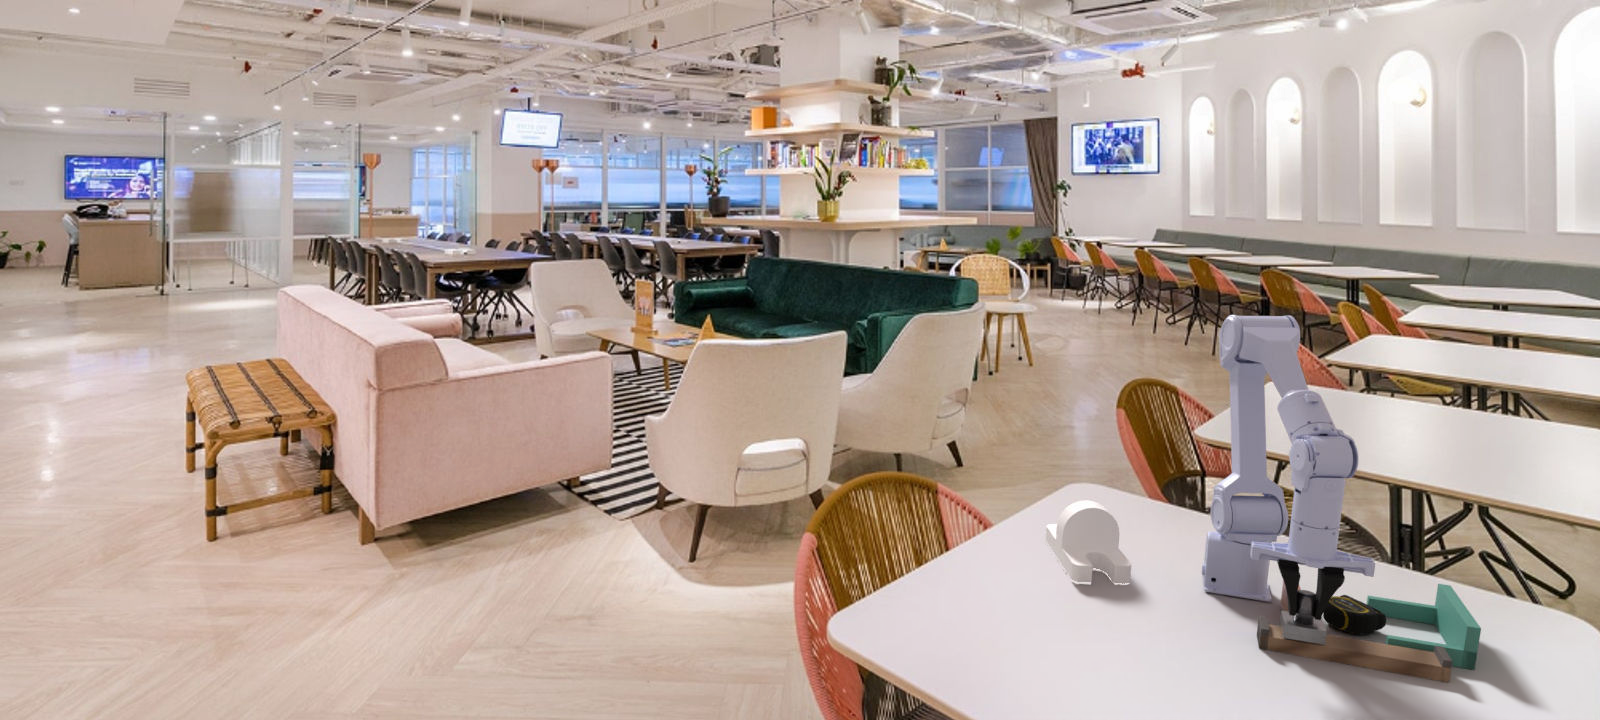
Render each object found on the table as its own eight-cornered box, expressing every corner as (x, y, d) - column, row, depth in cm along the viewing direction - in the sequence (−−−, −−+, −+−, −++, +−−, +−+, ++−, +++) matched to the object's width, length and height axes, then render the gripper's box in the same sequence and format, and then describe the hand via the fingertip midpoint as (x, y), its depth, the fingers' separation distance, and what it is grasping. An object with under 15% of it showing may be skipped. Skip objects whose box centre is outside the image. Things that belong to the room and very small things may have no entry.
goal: (1386, 654, 119) (1391, 614, 118) (1365, 610, 132) (1370, 573, 131) (1474, 670, 116) (1481, 628, 114) (1444, 623, 128) (1450, 585, 127)
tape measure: (1387, 635, 125) (1390, 611, 124) (1351, 642, 123) (1354, 618, 122) (1345, 614, 131) (1348, 591, 131) (1310, 620, 129) (1313, 597, 129)
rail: (1259, 648, 121) (1261, 628, 120) (1256, 635, 125) (1258, 615, 124) (1449, 682, 113) (1452, 661, 112) (1440, 667, 116) (1443, 646, 116)
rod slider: (1281, 650, 120) (1287, 597, 118) (1269, 600, 134) (1275, 553, 133) (1323, 657, 118) (1330, 603, 116) (1306, 606, 132) (1312, 558, 131)
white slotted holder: (1096, 543, 158) (1100, 486, 156) (1132, 586, 141) (1137, 523, 139) (1043, 542, 159) (1047, 486, 157) (1072, 586, 141) (1076, 523, 139)
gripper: (1257, 523, 116) (1247, 617, 119) (1384, 540, 111) (1371, 638, 113) (1253, 506, 123) (1244, 595, 125) (1373, 521, 117) (1361, 614, 120)
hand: (1304, 614), depth 120 cm, fingers closed on rod slider, 2 cm apart
